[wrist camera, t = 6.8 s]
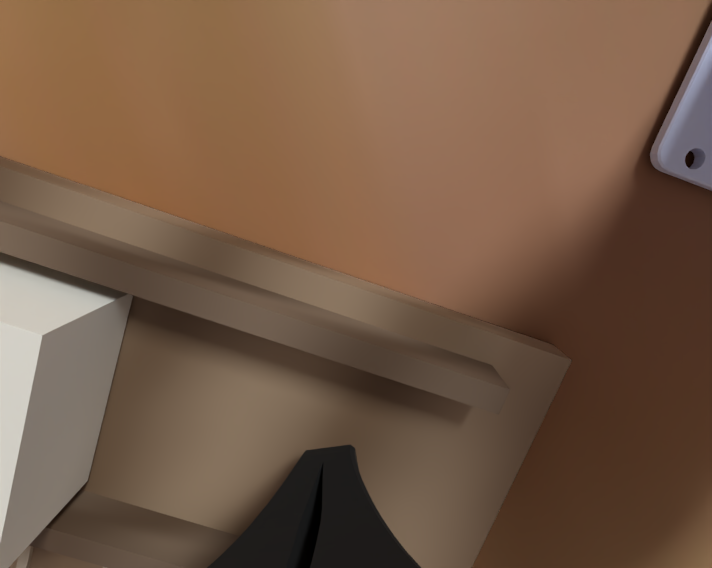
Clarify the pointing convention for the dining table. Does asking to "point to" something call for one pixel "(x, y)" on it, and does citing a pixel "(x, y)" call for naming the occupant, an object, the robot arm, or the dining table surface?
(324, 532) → the robot arm
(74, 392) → the white block with bar
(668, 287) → the dining table surface
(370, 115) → the dining table surface
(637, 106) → the dining table surface
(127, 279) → the gauge board
